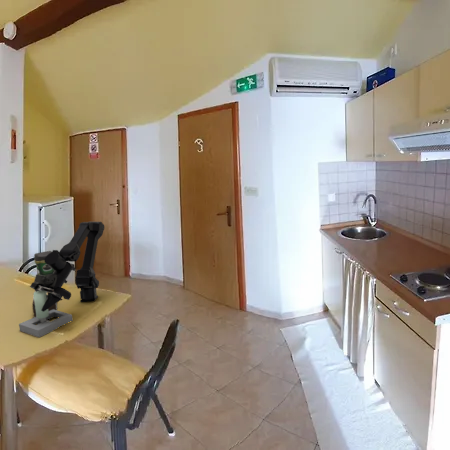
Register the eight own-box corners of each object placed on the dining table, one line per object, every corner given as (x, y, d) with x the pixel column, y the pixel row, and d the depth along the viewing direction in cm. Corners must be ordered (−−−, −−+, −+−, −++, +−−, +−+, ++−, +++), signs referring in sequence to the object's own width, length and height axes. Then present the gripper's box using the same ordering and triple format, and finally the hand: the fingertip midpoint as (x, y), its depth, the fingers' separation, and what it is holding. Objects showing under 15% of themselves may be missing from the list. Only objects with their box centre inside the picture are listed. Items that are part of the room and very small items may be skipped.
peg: (52, 322, 140) (48, 290, 137) (47, 327, 135) (43, 294, 132) (40, 322, 139) (36, 290, 137) (34, 328, 135) (30, 295, 132)
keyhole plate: (53, 315, 148) (53, 309, 147) (72, 321, 142) (72, 314, 142) (19, 330, 135) (18, 323, 134) (39, 337, 129) (38, 330, 129)
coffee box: (55, 287, 163) (56, 299, 149) (57, 300, 164) (57, 313, 150) (33, 291, 159) (32, 303, 145) (35, 304, 160) (34, 317, 146)
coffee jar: (54, 281, 191) (50, 249, 188) (59, 284, 186) (55, 251, 182) (35, 285, 184) (31, 252, 181) (40, 289, 179) (36, 255, 175)
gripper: (31, 263, 140) (8, 297, 133) (61, 268, 132) (38, 306, 124) (50, 275, 149) (29, 308, 141) (80, 281, 140) (59, 317, 133)
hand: (38, 310), depth 135 cm, fingers closed on peg, 4 cm apart
